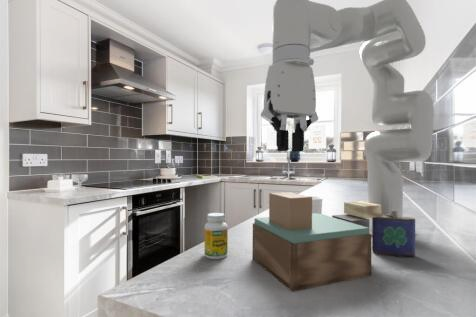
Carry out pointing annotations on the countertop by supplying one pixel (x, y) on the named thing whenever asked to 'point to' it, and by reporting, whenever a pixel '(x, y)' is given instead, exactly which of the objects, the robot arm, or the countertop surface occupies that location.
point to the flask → (393, 235)
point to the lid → (303, 220)
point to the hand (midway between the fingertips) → (290, 150)
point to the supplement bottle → (216, 236)
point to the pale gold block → (362, 209)
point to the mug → (316, 204)
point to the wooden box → (314, 257)
